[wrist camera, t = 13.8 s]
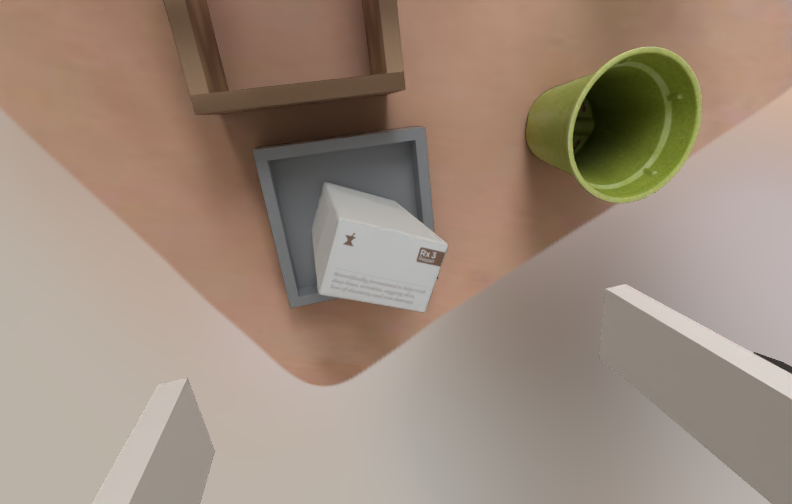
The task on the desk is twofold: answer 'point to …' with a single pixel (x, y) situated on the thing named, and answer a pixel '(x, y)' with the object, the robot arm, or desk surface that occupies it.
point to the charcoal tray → (342, 165)
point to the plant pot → (621, 124)
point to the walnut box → (214, 98)
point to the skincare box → (373, 250)
